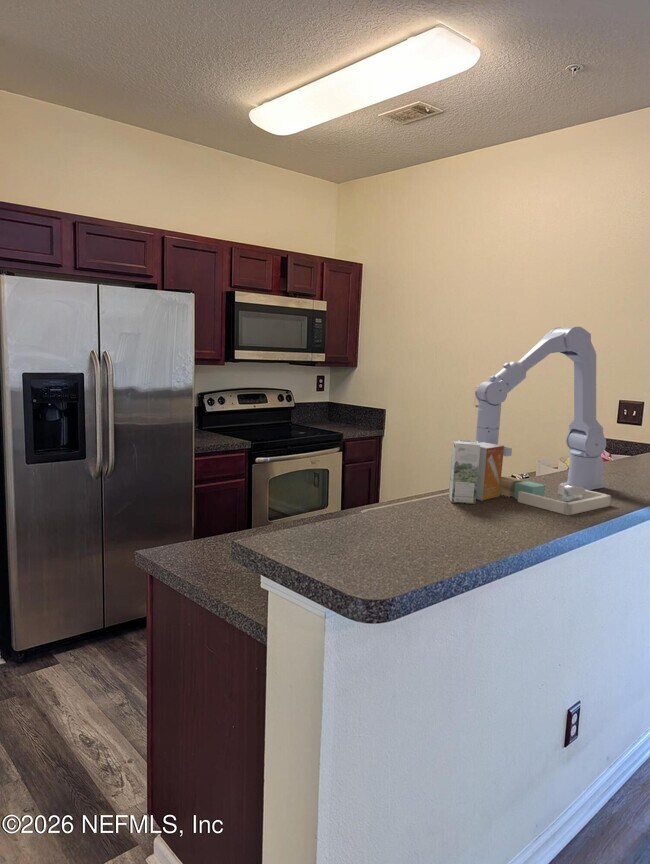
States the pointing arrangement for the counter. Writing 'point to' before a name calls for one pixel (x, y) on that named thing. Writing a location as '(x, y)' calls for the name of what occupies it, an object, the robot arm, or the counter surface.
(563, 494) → the aluminium part
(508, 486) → the oak block
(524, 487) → the teal block
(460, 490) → the syrup box
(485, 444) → the small box
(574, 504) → the frame
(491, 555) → the counter surface
